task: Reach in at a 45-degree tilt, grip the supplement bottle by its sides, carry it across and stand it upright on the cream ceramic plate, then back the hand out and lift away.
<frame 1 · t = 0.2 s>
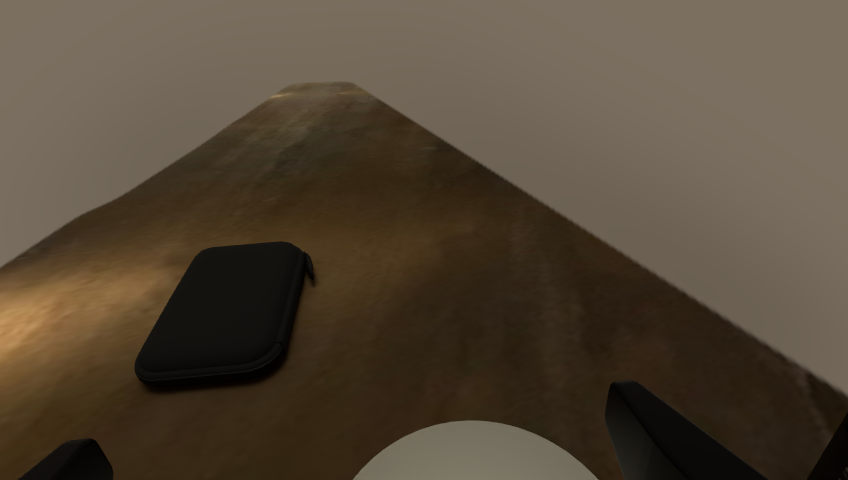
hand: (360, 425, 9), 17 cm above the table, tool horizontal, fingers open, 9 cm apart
carrying case or bag: (244, 320, 38), on the table
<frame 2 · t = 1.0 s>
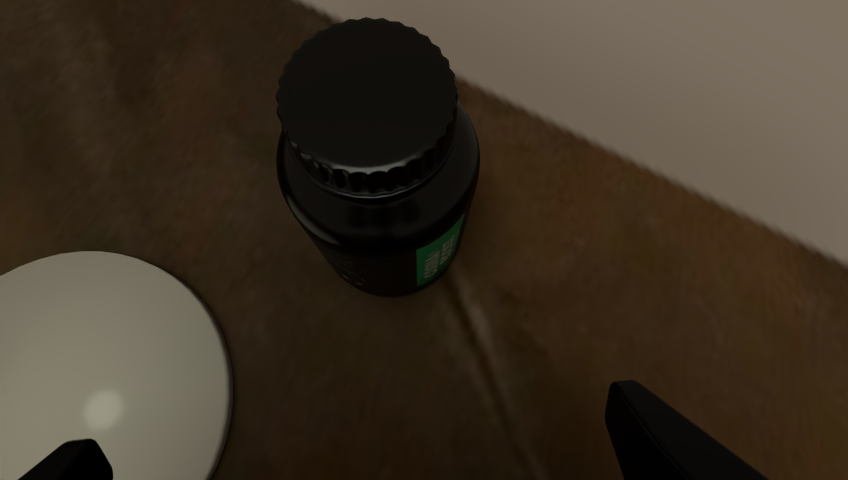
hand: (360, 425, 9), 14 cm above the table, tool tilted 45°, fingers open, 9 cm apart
cream plate: (75, 408, 22), on the table
supplement bottle: (392, 231, 24), on the table
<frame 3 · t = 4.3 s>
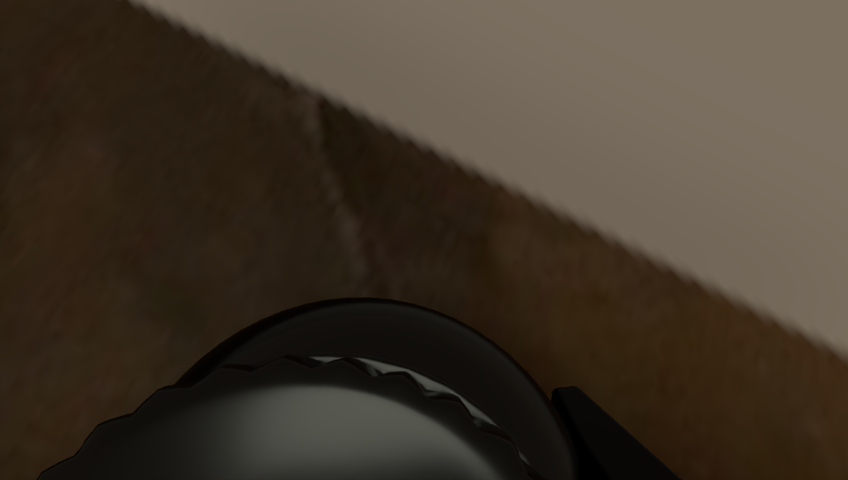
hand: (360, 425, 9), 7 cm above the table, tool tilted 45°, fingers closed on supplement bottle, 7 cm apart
supplement bottle: (388, 451, 15), on the table, touching gripper
when the fingers open (9 cm above the table, at t = 8.9 s): supplement bottle drops 1 cm, resting on cream plate.
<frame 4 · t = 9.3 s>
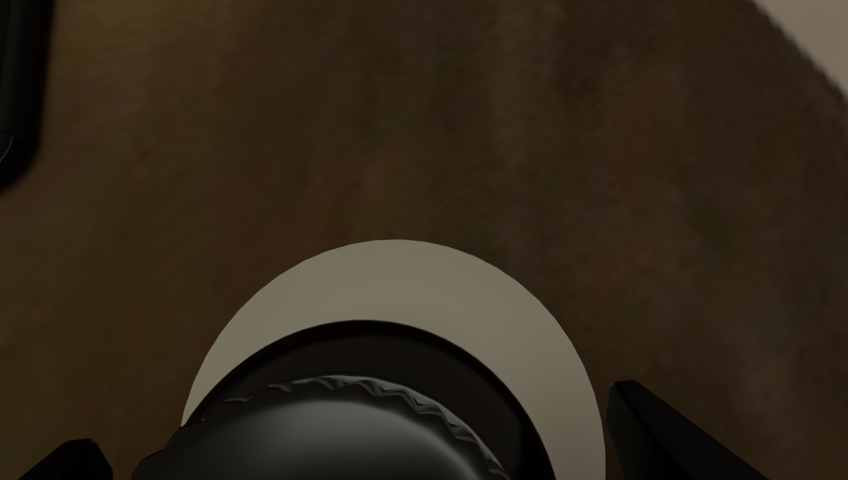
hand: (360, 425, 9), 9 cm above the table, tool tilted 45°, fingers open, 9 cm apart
cream plate: (393, 441, 17), on the table
supplement bottle: (388, 449, 16), point 1 cm above the table, touching cream plate
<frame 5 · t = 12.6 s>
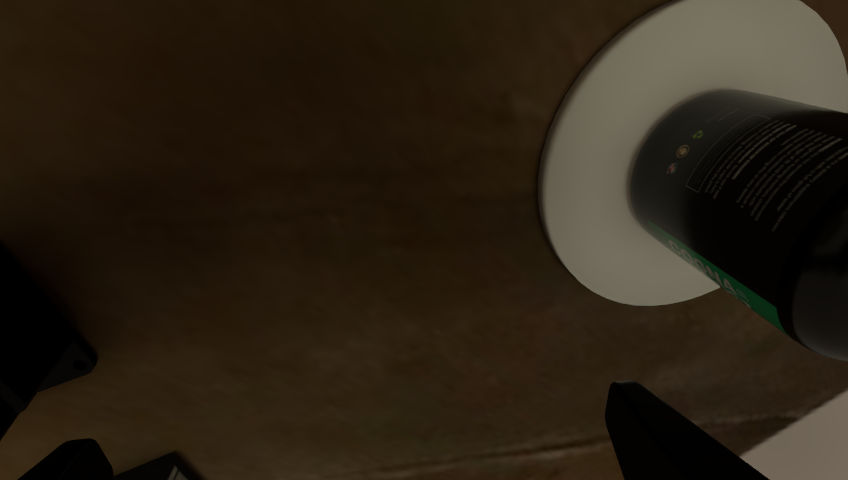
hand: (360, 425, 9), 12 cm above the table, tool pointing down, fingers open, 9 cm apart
cream plate: (684, 163, 22), on the table
supplement bottle: (694, 166, 21), point 1 cm above the table, touching cream plate
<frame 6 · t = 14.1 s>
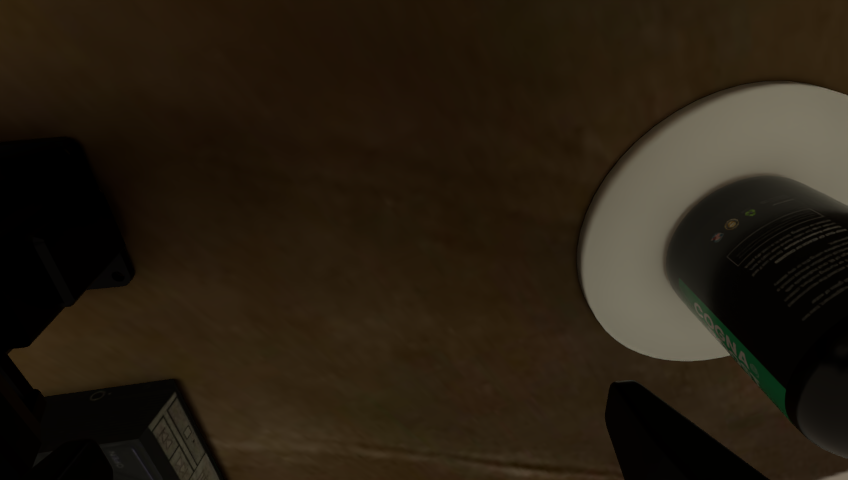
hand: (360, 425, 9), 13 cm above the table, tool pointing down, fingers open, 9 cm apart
cream plate: (723, 234, 23), on the table
supplement bottle: (732, 239, 22), point 1 cm above the table, touching cream plate
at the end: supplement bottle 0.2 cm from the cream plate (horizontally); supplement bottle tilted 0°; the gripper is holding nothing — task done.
